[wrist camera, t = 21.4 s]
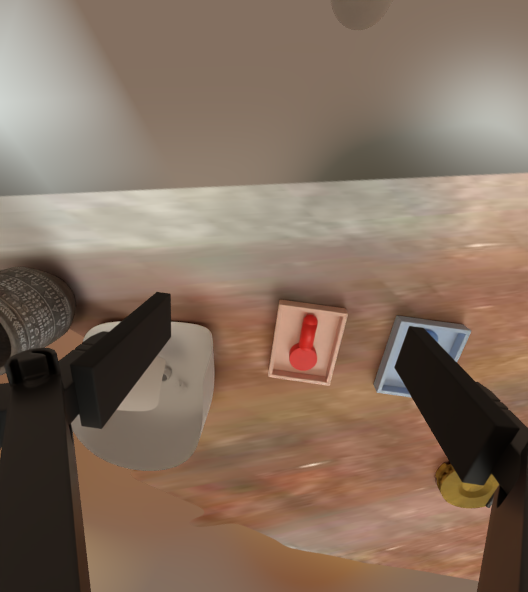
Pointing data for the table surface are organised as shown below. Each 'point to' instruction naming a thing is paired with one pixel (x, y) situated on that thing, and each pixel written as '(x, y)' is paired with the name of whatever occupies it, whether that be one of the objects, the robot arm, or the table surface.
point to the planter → (32, 310)
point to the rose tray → (324, 343)
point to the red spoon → (305, 346)
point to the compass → (463, 489)
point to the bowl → (159, 405)
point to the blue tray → (387, 377)
